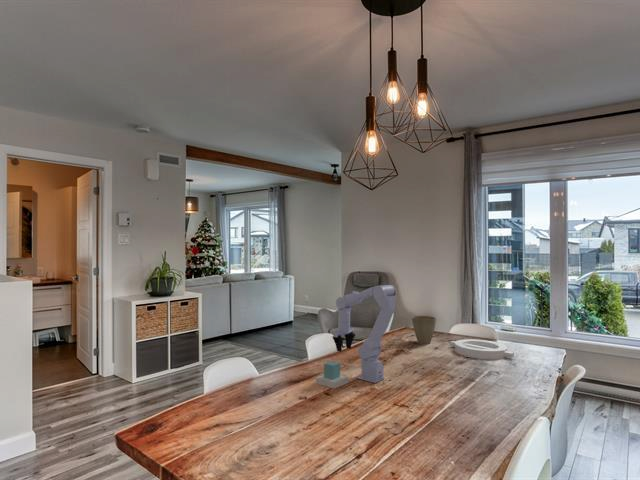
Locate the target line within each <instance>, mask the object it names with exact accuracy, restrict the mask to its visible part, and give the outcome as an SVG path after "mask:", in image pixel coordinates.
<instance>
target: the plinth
mask: <svg viewBox="0 0 640 480" xmlns="http://www.w3.org/2000/svg"><path fill="white" fill-rule="evenodd" d="M348 383H349V376H346V375H342V374H340V377H339V378H336V379H334V380H332V379H328V378H324V374H322V375H319V376H317V377H315V384H317V385H321V386H324V387H327V388H331V389H337V388H339V387H341V386H344V385H346V384H348Z"/></svg>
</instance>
